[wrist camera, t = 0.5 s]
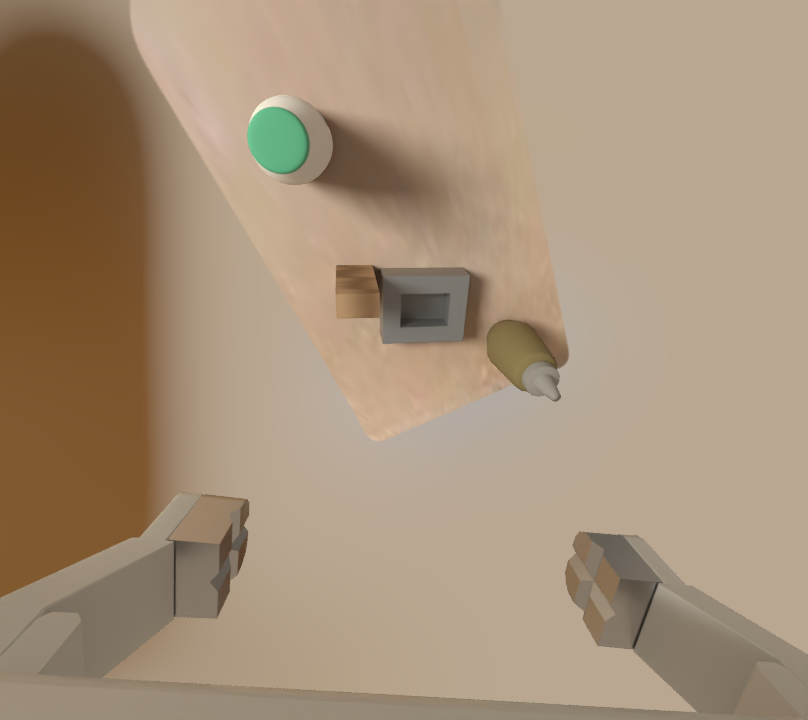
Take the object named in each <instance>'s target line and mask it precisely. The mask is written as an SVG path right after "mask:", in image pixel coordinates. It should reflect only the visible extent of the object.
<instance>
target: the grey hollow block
mask: <svg viewBox="0 0 808 720" xmlns="http://www.w3.org/2000/svg"><path fill="white" fill-rule="evenodd" d="M469 280H470V275H469V274H468V273H467V272H466V271H465V270H464V269H463V268H380V333H381V338H382V342H383V344H393V343H421V342H449V341H463V334H464V325H465V316H466V307H467V298H468V289H469Z"/></svg>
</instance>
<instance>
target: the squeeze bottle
mask: <svg viewBox="0 0 808 720" xmlns="http://www.w3.org/2000/svg"><path fill="white" fill-rule="evenodd" d="M487 355H488V357H489V359H490V360H491V362H492V363H493V364H494V365H495V366H496V367H497V368H498V369H499V370H500V371H501V372H502V373H503V374H504V375H505V376H506V377H507V378H508V379H509V380H510V382H511V383H512V384H513V385H514V386H516V387H517V388H518V389H520V390H522V391H527V392H528V393H530V394H531V395H533V396H544V395H545V396H546V397H548V398H550V399H551V400H552V401H558V400H559V399H560V397H561V395H560V393H559V391H558V389H557V387H556V386H557V385H558V383H559V377H560V376H559V373H558V371H557V370H556V369H557V363H556V360H555V358H554V356H553V355H552V354H551V352H550V351H549V350H548V348H547V347H546V345H545V344H544V343H543V341H542V340H541V339H540V337H539V336H538V334H537V333H536V332H535V330H534V329H533V328H531V327H530V326H529V325H528V324H525V323H521V322H516V321H511V320H503V321H500V322H498V323H496V324H495V325H494V326H493V327H492V328H491V329H490V330H489V333H488V335H487Z"/></svg>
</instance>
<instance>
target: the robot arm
mask: <svg viewBox="0 0 808 720" xmlns="http://www.w3.org/2000/svg"><path fill="white" fill-rule="evenodd" d="M248 516H249V501H248V500H247V499H241V498H233V497H224V496H216V495H208V494H205V495H204V494H198V493H188V492H182V493H179V494H178V495H177V496H176V497H175V498H174V499H173V500H172V502H170V504H169V505H168V506H167V507H166V508H165V509H164V510H163V512H162V513H161V514H160V515H159V516H158V517H157V518H156V520H155V521H154V522H153V523H152V524H151V525H150V526H149V528H148V529H147V530H146V531H145V532H144V533H143V534H142V536H141V537H140V538H130V539H128V540H126V541H123V542H121V543H119V544H117V545H115V546H112V547H110V548H108V549H106V550H104V551H102V552H100V553H97V554H95V555H93V556H91V557H88V558H86V559H84V560H82V561H80V562H78V563H75V564H73V565H71V566H69V567H67V568H64V569H62V570H60V571H58V572H56V573H54V574H51V575H49V576H47V577H45V578H43V579H41V580H38V581H37V582H34V583H32V584H30V585H28V586H25V587H23V588H21V589H19V590H17V591H14V592H12V593H10V594H8V595H6V596H3V597H1V598H0V720H808V655H807V654H806V653H804V652H802V651H801V650H799V649H797V648H796V647H794V646H792V645H791V644H789V643H787V642H786V641H784V640H782V639H781V638H779V637H777V636H776V635H774V634H772V633H771V632H769V631H767V630H766V629H764V628H762V627H760V626H759V625H757V624H755V623H754V622H752V621H750V620H748V619H747V618H745V617H743V616H742V615H740V614H738V613H737V612H735V611H734V610H732V609H730V608H728V607H727V606H725V605H723V604H722V603H720V602H718V601H717V600H715V599H713V598H712V597H710V596H708V595H707V594H705V593H703V592H702V591H700V590H698V589H696V588H695V587H693V586H687V585H685V584H684V582H683V581H682V580H681V579H680V578H679V577H678V576H677V575H676V574H675V573H674V572H673V571H672V570H671V568H670V567H669V566H668V565H667V564H666V563H665V562H664V561H663V560H662V559H661V558H660V557H659V555H658V554H657V553H656V552H655V551H654V550H653V549H652V548H651V547H650V546H649V545H648V544H647V543H646V541H645V540H644V539H642V538H640V537H638V536H636V535H620V534H618V535H612V534H601V533H589V532H579V533H578V534H577V535H576V537H575V539H574V542H573V547H574V549H575V552H576V554H575V555H574V556H573V557H571V558H570V559H569V560H568V563H567V567H566V571H565V575H566V585H567V589H568V592H569V595H570V596H571V598H572V600H573V602H574V603H575V604H576V605H577V606H579V607H580V608H581V609H583V610H584V615H583V620H584V622H585V624H586V626H587V628H588V629H589V631H590V633H591V635H592V637H593V638H594V640H595V642H596V644H597V645H598V646H605V647H615V648H624V649H634V652H635V653H636V654H637V655H638V656H639V657H640V658H641V659H642V660H643V661H644V662H645V663H646V664H647V665H649V667H651V668H652V669H653V670H654V671H655V672H656V673H657V674H658V675H659V676H660V677H661V678H662V679H663V680H664V681H665V682H667V684H669V685H670V686H671V687H672V688H673V689H674V690H675V691H676V692H677V693H678V694H679V695H680V696H681V697H682V698H683V699H684V700H685V701H686V702H688V703H689V704H690V705H691V706H692V707H693V708H694V709H695V710H696V711H697V712H698V713H696V712H679V711H660V710H643V709H625V708H610V707H593V706H577V705H576V706H575V705H560V704H543V703H527V702H507V701H492V700H474V699H457V698H438V697H421V696H403V695H386V694H368V693H367V694H366V693H351V692H334V691H316V690H299V689H281V688H264V687H247V686H229V685H228V686H227V685H211V684H193V683H177V682H160V681H159V682H158V681H140V680H124V679H107V678H102V677H104V676H105V675H106V674H107V673H109V672H110V671H111V670H112V669H113V668H115V667H116V666H117V665H118V664H120V663H121V662H122V661H123V660H124V659H126V658H127V657H128V656H129V655H131V654H132V653H133V652H134V651H135V650H137V649H138V648H139V647H140V646H142V645H143V644H144V643H145V642H146V641H148V640H149V639H150V638H151V637H153V636H154V635H155V634H156V633H158V632H159V631H160V630H161V629H162V628H164V627H165V626H166V625H167V624H169V623H170V622H171V621H172V620H173V619H174V617H191V618H217V617H218V615H219V613H220V611H221V609H222V607H223V605H224V603H225V600H226V598H227V596H228V594H229V592H230V580H231V579H233V578H234V577H235V576H237V574H238V572H239V570H240V568H241V565H242V562H243V559H244V556H245V552H246V547H247V540H248V531H247V529H246V528H245V527H244V524H245V522H246V520H247V518H248Z"/></svg>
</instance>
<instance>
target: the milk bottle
mask: <svg viewBox="0 0 808 720" xmlns="http://www.w3.org/2000/svg"><path fill="white" fill-rule="evenodd" d="M247 137H248V144H249V148H250V150H251V153H252V155H253V157H254V159H255V160H256V162H257V164H258V165H259V166H260V168H261V169H262V170H263V171H264V172H265V173H266V174H267V175H269V176H270V177H272V178H273V179H275V180H277V181H279V182H281V183H284V184H289V185H301V184H305V183H308V182H310V181H312V180H314V179H316V178H317V177H318V176H319V175H320V174H321V173H322V172H323V171H324V170H325V168H326V167H327V165H328V164H329V162H330V159H331V156H332V152H333V140H332V135H331V131H330V129H329V127H328V125H327V123H326V121H325V120H324V118H323V117H322V115H321V114H320V113H319V112H318V111H317V110H316V109H315V108H314V107H313V106H312V105H311V104H309V103H308V102H306V101H304V100H302V99H300V98H298V97H295V96H291V95H277V96H273V97H271V98H268V99H266V100H265V101H263V102H262V103H261V104H260V105H259V106H258V107H257V108H256V109H255V111H254V113H253V114H252V117H251V119H250V123H249V127H248V133H247Z"/></svg>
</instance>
